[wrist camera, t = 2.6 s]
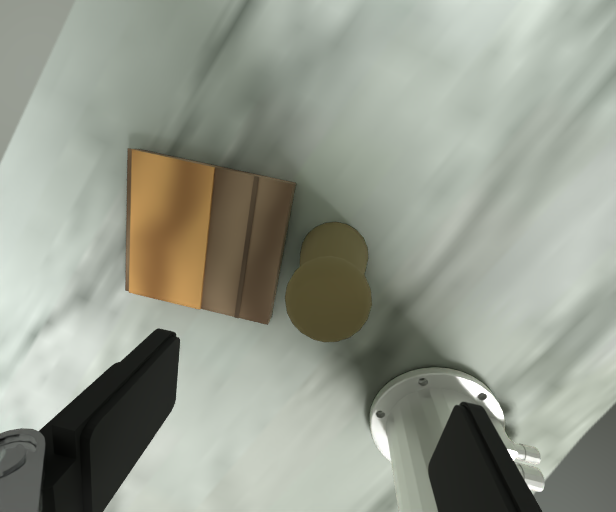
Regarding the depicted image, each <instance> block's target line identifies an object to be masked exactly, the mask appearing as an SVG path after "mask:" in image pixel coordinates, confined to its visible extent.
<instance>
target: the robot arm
mask: <svg viewBox="0 0 616 512" xmlns="http://www.w3.org/2000/svg"><path fill="white" fill-rule="evenodd" d="M179 348H180V339H179V338H178V337H176V333H175V332H172V331H168V330H164V329H156V330H155V331H154V332H152V333H151V334H150V335H149V336H148V337H147V338H146V339H145V340H144V341H143V342H142V343H140V344H139V345H138V346H137V347H136V348H135V349H134V350H133V351H132V352H131V353H129V354H128V355H127V356H126V357H125V358H124V359H123V360H122V361H121V362H118V363H115V364H114V365H112V366H111V367H110V368H109V369H108V370H106V371H105V372H104V373H103V374H102V375H101V376H100V377H99V378H97V379H96V380H95V381H94V382H93V383H92V384H91V385H90V386H89V387H87V388H86V389H85V390H84V391H83V392H82V393H81V394H80V395H79V396H77V397H76V398H75V399H74V400H73V401H72V402H71V403H70V404H69V405H67V406H66V407H65V408H64V409H63V410H62V411H61V412H60V413H58V414H57V415H56V416H55V417H54V418H53V419H52V420H51V421H50V422H48V423H47V424H46V425H45V426H44V427H43V428H42V429H41V430H40V431H36V430H33V429H22V428H21V429H15V430H9V431H6V432H3V433H0V512H103V511H104V509H105V508H106V506H107V505H108V503H109V502H110V501H111V499H112V498H113V496H114V495H115V493H116V492H117V490H118V489H119V487H120V486H121V484H122V483H123V481H124V480H125V478H126V477H127V476H128V474H129V473H130V471H131V470H132V468H133V467H134V465H135V464H136V462H137V461H138V459H139V458H140V456H141V455H142V453H143V452H144V451H145V449H146V448H147V446H148V445H149V443H150V442H151V440H152V439H153V437H154V436H155V434H156V433H157V431H158V430H159V428H160V427H161V426H162V424H163V423H164V421H165V420H166V418H167V417H168V415H169V414H170V412H171V411H172V409H173V407H174V404H175V400H176V388H177V375H178V362H179ZM370 429H371V434H372V438H373V440H374V442H375V444H376V446H377V448H378V449H379V450H380V452H381V453H382V454H383V455H384V456H385V457H386V458H387V459H388V460H389V461H390V462H391V465H392V471H393V478H394V484H395V491H396V498H397V504H398V511H399V512H542V510H541V509H540V507H539V505H538V503H537V502H536V500H535V498H534V496H533V494H532V493H531V491H530V490H533V491H537V492H541V491H542V490H543V489H544V484H545V483H544V477H543V475H542V472H541V471H540V470H539V469H538V468H536V467H533V466H529V465H525V464H521V463H517V462H514V459H519V460H520V461H524V462H528V463H532V464H536V465H538V464H539V463H540V460H541V458H540V453H539V451H538V449H536V448H535V447H531V446H527V445H523V444H516V443H513V442H512V440H511V439H509V437H508V436H507V434H506V432H505V419H504V414H503V410H502V408H501V406H500V404H499V402H498V401H497V399H496V398H495V396H494V395H493V393H492V392H491V391H490V390H489V389H488V388H487V387H486V386H485V385H484V384H483V383H482V382H481V381H479V380H478V379H476V378H475V377H473V376H471V375H468V374H466V373H464V372H461V371H458V370H453V369H449V368H438V367H432V368H421V369H417V370H413V371H409V372H407V373H404V374H402V375H400V376H398V377H396V378H395V379H393V380H391V381H390V382H388V383H387V384H386V385H385V386H384V387H383V388H382V389H381V390H380V391H379V393H378V394H377V396H376V397H375V399H374V401H373V404H372V406H371V410H370Z"/></svg>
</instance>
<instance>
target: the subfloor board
mask: <svg viewBox="0 0 616 512" xmlns="http://www.w3.org/2000/svg"><path fill="white" fill-rule="evenodd" d="M295 186H296V183H294V182H290V181H285V180H280V179H276V178H271V177H266V176H262V175H257V174H252V173H248V172H243V171H239V170H234V169H229V168H225V167H220V166H215V165H211V164H206V163H201V162H197V161H192V160H188V159H183V158H178V157H174V156H169V155H164V154H160V153H155V152H150V151H146V150H141V149H130V148H128V160H127V222H126V284H125V290H126V291H129V293H133V294H137V295H142V296H146V297H150V298H154V299H158V300H162V301H166V302H171V303H175V304H179V305H183V306H187V307H191V308H195V309H199V310H200V309H204V310H209V311H213V312H217V313H221V314H225V315H229V316H233V317H235V318H242V319H246V320H250V321H254V322H258V323H262V324H267V325H268V323H269V321H270V319H271V317H272V312H273V306H274V301H275V295H276V290H277V285H278V279H279V274H280V268H281V263H282V257H283V252H284V246H285V241H286V235H287V230H288V224H289V219H290V214H291V208H292V203H293V197H294V192H295Z"/></svg>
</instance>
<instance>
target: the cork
mask: <svg viewBox="0 0 616 512" xmlns="http://www.w3.org/2000/svg"><path fill="white" fill-rule="evenodd" d="M367 261H368V248H367V245H366V243H365V240H364V238H363V237H362V236H361V235H360V233H359V232H358V231H357V230H356V229H354V228H352V227H351V226H349V225H347V224H343V223H339V222H330V223H324V224H322V225H319V226H317V227H315V228H314V229H313V230H312V231H310V232H309V233H308V234H307V236H306V238H305V239H304V241H303V243H302V247H301V252H300V267H299V268H298V269H297V270H296V271H295V272H294V274H293V276H292V277H291V279H290V281H289V283H288V285H287V289H286V294H285V302H286V308H287V314H288V316H289V317H290V319H291V321H292V323H293V325H294V326H295V327H296V328H297V329H298V330H299V331H300V332H301V333H303V334H305V335H306V336H308V337H310V338H312V339H314V340H318V341H322V342H337V341H340V340H343V339H346V338H349V337H351V336H352V335H354V334H355V333H356V332H358V331H359V330H360V329H361V328H362V326H363V325H364V324H365V322H366V321H367V319H368V316H369V313H370V309H371V306H372V299H371V290H370V287H369V284H368V282H367V280H366V277H365V276H364V274H365V270H366V265H367Z"/></svg>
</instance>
